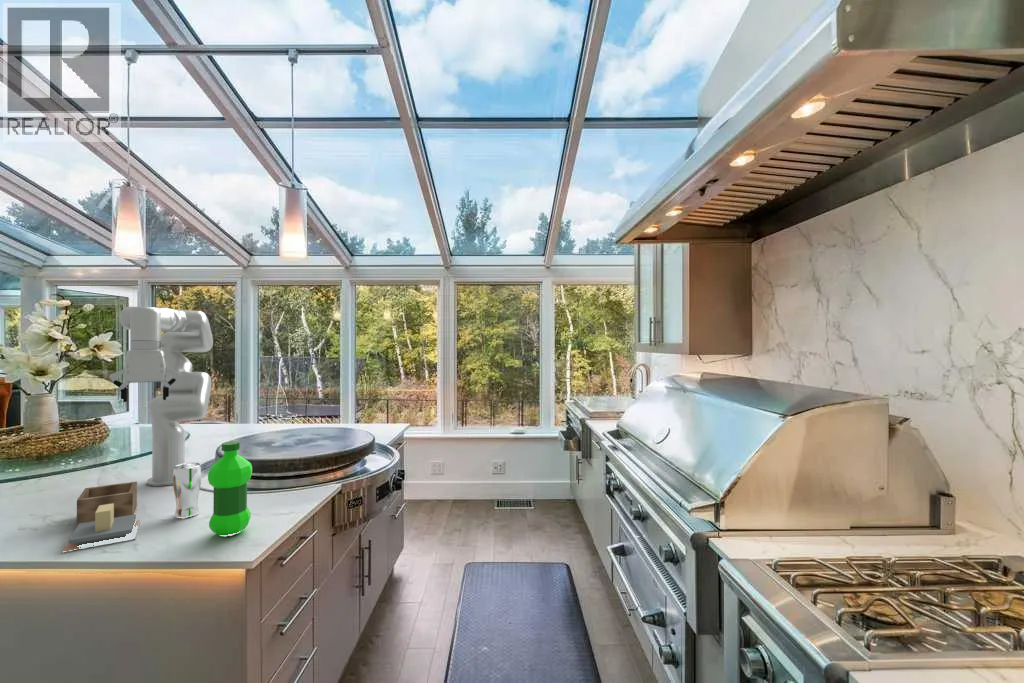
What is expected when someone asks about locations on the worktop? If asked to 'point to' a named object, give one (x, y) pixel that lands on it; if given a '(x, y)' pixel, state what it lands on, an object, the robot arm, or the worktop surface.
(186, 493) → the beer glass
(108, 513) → the lid
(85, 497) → the walnut box
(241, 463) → the plastic bottle
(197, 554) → the worktop surface
